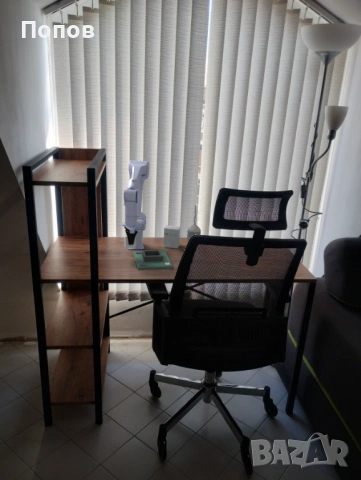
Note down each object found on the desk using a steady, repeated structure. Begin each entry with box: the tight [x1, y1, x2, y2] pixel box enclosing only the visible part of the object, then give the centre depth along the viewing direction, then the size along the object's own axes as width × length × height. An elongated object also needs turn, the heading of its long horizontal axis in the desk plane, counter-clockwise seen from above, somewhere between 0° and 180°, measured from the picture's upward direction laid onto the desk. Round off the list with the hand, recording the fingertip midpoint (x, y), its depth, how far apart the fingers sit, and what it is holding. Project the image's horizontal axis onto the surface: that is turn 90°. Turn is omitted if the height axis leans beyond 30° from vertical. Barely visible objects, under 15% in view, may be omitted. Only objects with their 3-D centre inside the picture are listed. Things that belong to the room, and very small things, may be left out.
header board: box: [132, 249, 174, 270], centre depth 188 cm, size 20×16×4 cm
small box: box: [162, 225, 181, 249], centre depth 206 cm, size 8×6×10 cm
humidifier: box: [185, 204, 202, 247], centre depth 197 cm, size 8×8×25 cm
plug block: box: [124, 233, 136, 249], centre depth 185 cm, size 4×5×6 cm
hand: (130, 242), depth 185 cm, fingers closed on plug block, 4 cm apart
